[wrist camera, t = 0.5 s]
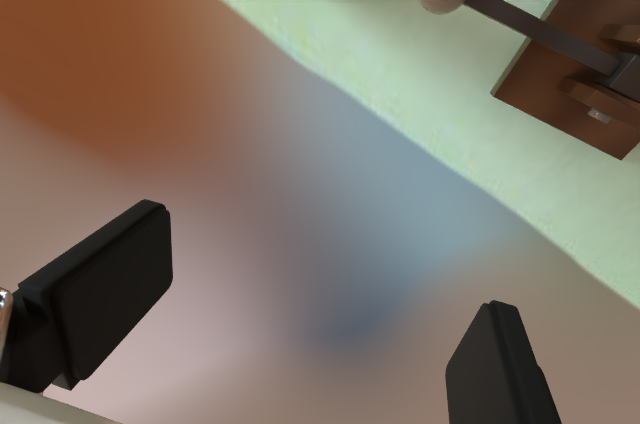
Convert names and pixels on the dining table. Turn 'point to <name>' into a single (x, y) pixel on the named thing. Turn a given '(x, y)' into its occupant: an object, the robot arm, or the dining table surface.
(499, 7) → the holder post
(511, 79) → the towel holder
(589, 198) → the dining table surface
